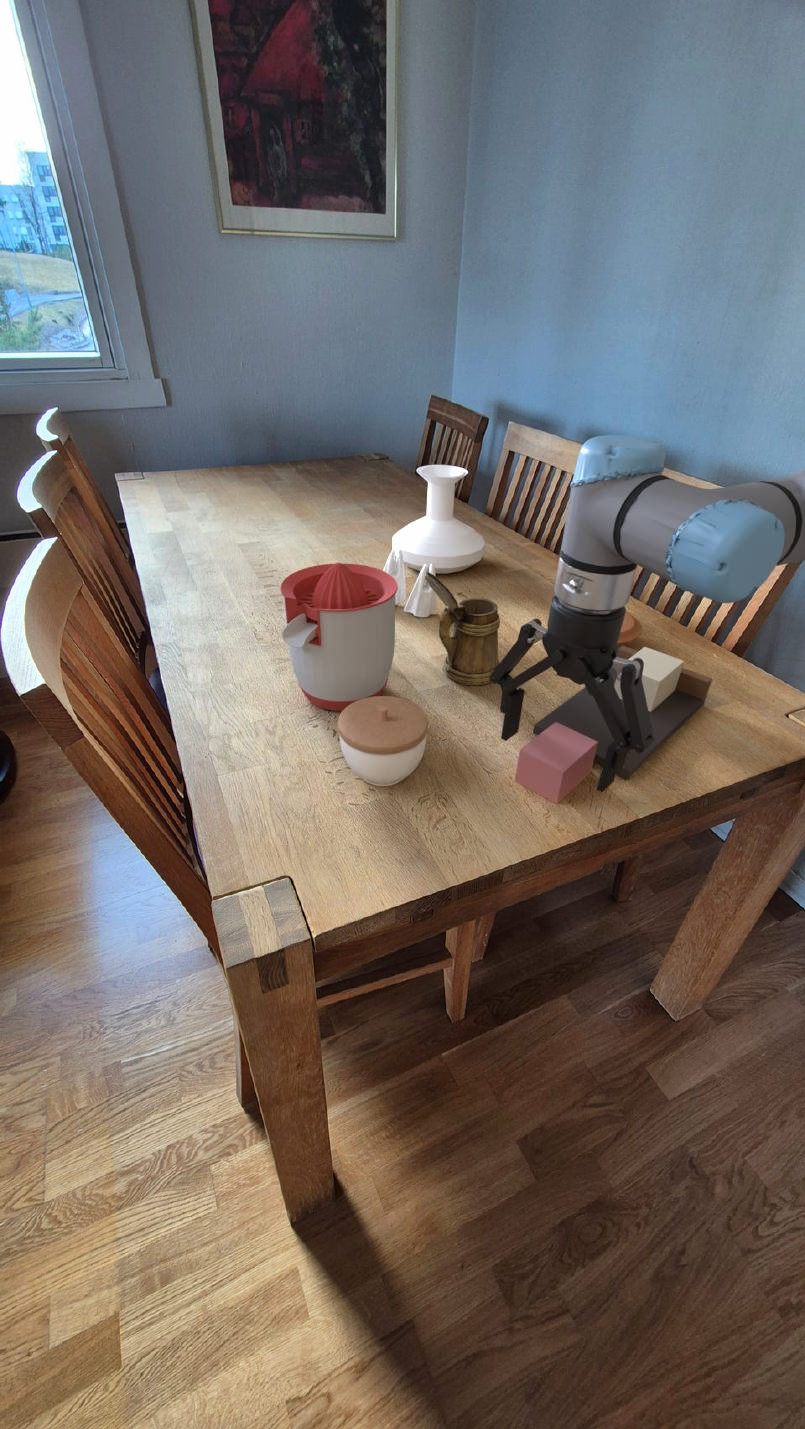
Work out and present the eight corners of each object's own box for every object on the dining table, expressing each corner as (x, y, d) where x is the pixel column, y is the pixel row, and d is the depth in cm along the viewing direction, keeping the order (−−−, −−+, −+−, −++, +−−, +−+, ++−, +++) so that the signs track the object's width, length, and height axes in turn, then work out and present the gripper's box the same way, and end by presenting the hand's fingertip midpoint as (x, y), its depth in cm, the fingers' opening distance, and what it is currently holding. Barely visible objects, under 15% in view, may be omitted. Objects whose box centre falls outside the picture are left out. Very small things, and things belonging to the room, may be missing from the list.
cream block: (675, 690, 92) (684, 661, 90) (650, 712, 88) (660, 681, 85) (637, 675, 96) (645, 646, 93) (611, 695, 91) (619, 665, 88)
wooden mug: (407, 670, 98) (410, 561, 88) (479, 652, 104) (490, 547, 94) (436, 698, 92) (443, 584, 82) (511, 677, 97) (526, 567, 87)
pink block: (590, 773, 79) (598, 741, 76) (556, 804, 74) (563, 772, 71) (549, 752, 82) (555, 721, 79) (514, 781, 77) (519, 749, 74)
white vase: (458, 589, 125) (465, 490, 114) (373, 568, 133) (373, 474, 122) (497, 558, 139) (507, 468, 128) (419, 541, 147) (422, 455, 136)
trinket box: (442, 779, 77) (447, 717, 72) (367, 811, 72) (366, 747, 67) (396, 735, 84) (397, 675, 79) (325, 761, 80) (321, 700, 74)
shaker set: (371, 606, 118) (371, 549, 111) (383, 598, 121) (383, 542, 114) (428, 621, 113) (430, 562, 107) (438, 612, 116) (441, 555, 110)
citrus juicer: (259, 700, 91) (241, 569, 79) (339, 654, 102) (334, 534, 91) (339, 741, 83) (333, 602, 72) (416, 687, 95) (421, 560, 83)
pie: (642, 668, 101) (650, 640, 98) (544, 657, 103) (549, 629, 100) (632, 625, 113) (639, 600, 110) (546, 616, 115) (550, 591, 113)
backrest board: (703, 704, 92) (712, 678, 90) (627, 780, 78) (635, 752, 75) (616, 670, 100) (622, 645, 97) (532, 733, 85) (537, 706, 83)
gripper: (471, 574, 69) (456, 728, 81) (693, 656, 55) (635, 827, 68) (511, 557, 73) (491, 705, 86) (725, 629, 60) (665, 793, 72)
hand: (554, 759), depth 77 cm, fingers open, 13 cm apart
